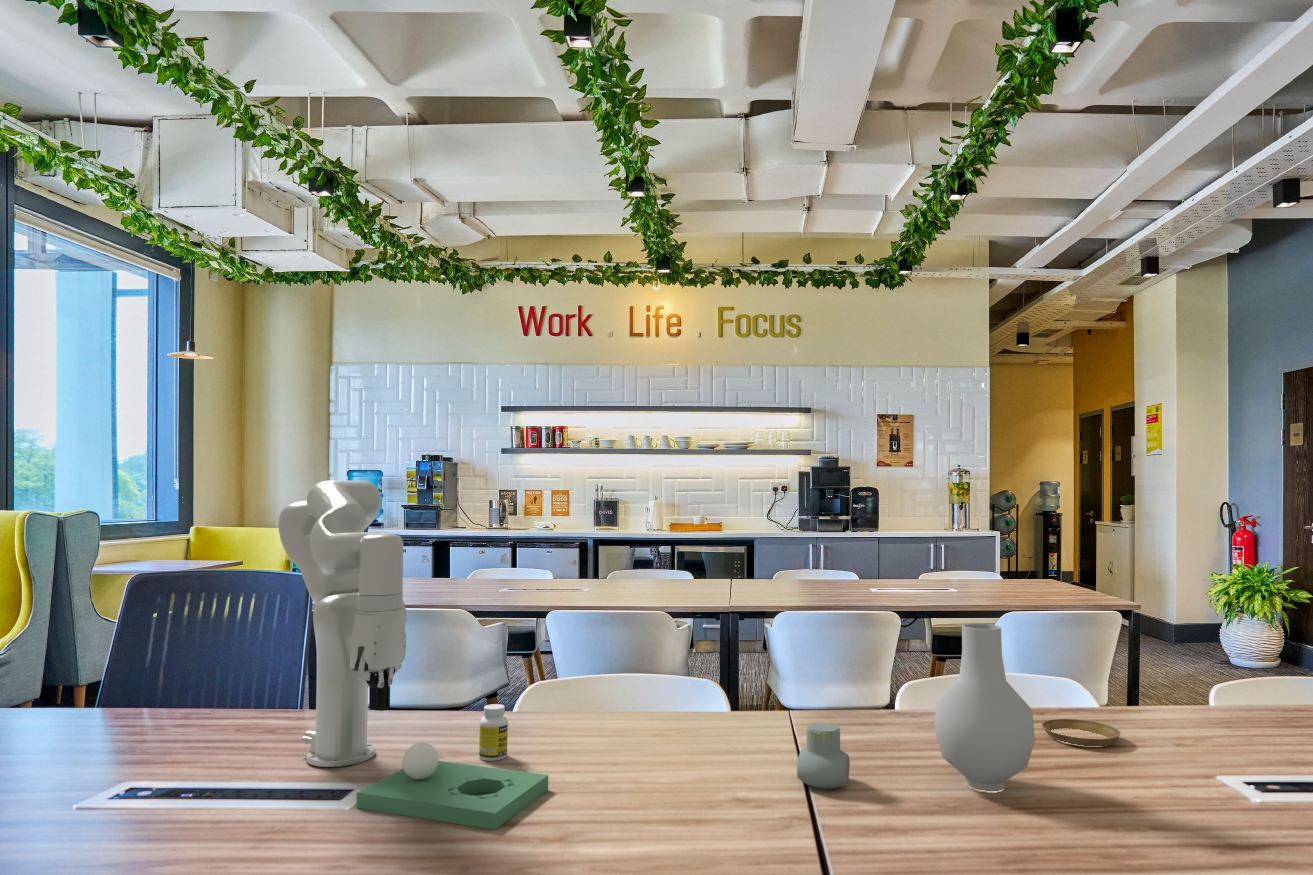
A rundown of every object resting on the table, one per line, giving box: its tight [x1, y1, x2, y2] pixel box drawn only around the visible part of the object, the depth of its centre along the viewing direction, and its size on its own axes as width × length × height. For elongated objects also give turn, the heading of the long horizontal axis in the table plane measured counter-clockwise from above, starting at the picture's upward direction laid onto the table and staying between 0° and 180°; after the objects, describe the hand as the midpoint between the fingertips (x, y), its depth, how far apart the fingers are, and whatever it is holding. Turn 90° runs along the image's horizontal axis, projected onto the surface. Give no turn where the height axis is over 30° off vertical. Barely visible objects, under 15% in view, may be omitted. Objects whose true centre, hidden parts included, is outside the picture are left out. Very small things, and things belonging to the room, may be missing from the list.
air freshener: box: [796, 722, 851, 790], centre depth 149 cm, size 11×8×10 cm
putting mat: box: [356, 760, 549, 831], centre depth 141 cm, size 26×18×2 cm
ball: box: [402, 741, 440, 780], centre depth 144 cm, size 6×6×6 cm
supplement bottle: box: [478, 703, 509, 762], centre depth 163 cm, size 5×5×10 cm
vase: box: [934, 622, 1036, 791], centre depth 148 cm, size 17×16×28 cm
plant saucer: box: [1041, 718, 1121, 746], centre depth 174 cm, size 15×15×3 cm
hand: (379, 708), depth 147 cm, fingers closed
